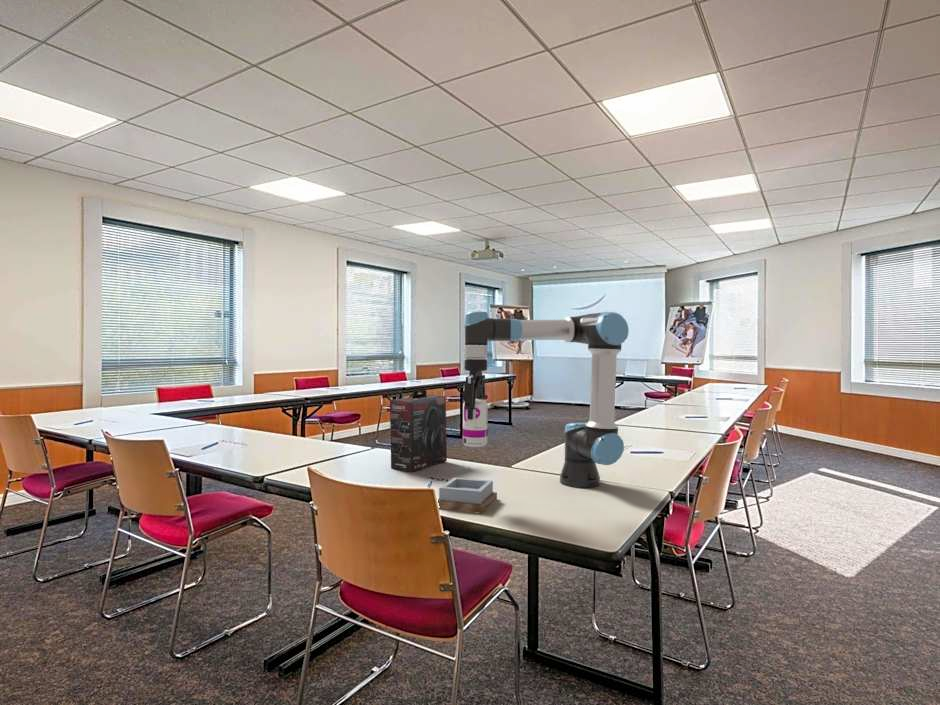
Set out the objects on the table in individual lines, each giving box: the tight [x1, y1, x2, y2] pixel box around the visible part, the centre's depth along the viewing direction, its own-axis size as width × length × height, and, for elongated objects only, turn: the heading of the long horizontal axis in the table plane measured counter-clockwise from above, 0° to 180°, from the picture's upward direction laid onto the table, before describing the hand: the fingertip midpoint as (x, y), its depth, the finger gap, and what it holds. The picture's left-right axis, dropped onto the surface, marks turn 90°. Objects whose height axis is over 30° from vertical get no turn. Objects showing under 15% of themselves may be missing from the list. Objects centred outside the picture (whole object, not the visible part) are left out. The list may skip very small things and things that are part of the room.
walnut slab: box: [437, 491, 498, 514], centre depth 174 cm, size 16×16×3 cm
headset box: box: [389, 388, 448, 473], centre depth 229 cm, size 24×13×33 cm, turn 145°
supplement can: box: [462, 398, 489, 448], centre depth 173 cm, size 8×8×15 cm
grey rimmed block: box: [438, 477, 494, 504], centre depth 174 cm, size 14×14×4 cm
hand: (475, 427), depth 173 cm, fingers closed on supplement can, 8 cm apart
